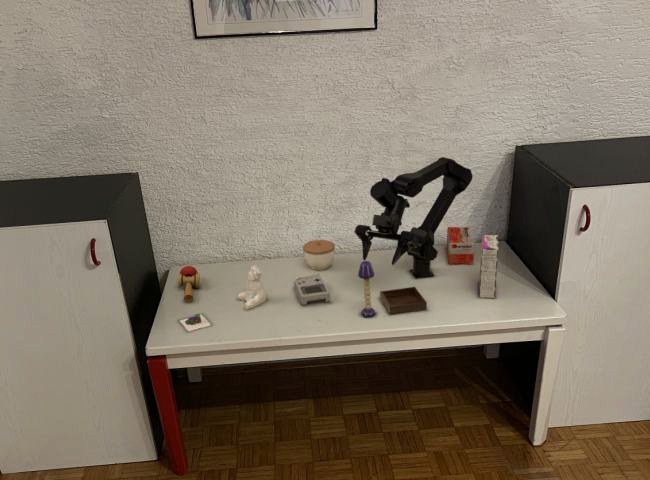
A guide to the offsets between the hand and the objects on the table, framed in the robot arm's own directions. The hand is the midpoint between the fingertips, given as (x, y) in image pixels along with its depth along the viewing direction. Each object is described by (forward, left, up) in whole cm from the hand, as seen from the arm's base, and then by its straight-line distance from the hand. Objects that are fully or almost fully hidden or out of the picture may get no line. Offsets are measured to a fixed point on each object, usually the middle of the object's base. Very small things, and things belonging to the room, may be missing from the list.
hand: (378, 262), depth 205 cm
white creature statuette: (-12, -37, -14) cm, 41 cm away
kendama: (-26, -56, -14) cm, 64 cm away
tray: (+3, +7, -13) cm, 16 cm away
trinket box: (-32, -12, -14) cm, 37 cm away
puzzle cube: (-3, -56, -14) cm, 57 cm away
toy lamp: (+6, -5, -14) cm, 16 cm away
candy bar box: (+2, +34, -14) cm, 37 cm away
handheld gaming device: (-11, -19, -14) cm, 26 cm away
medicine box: (-26, +36, -14) cm, 47 cm away
